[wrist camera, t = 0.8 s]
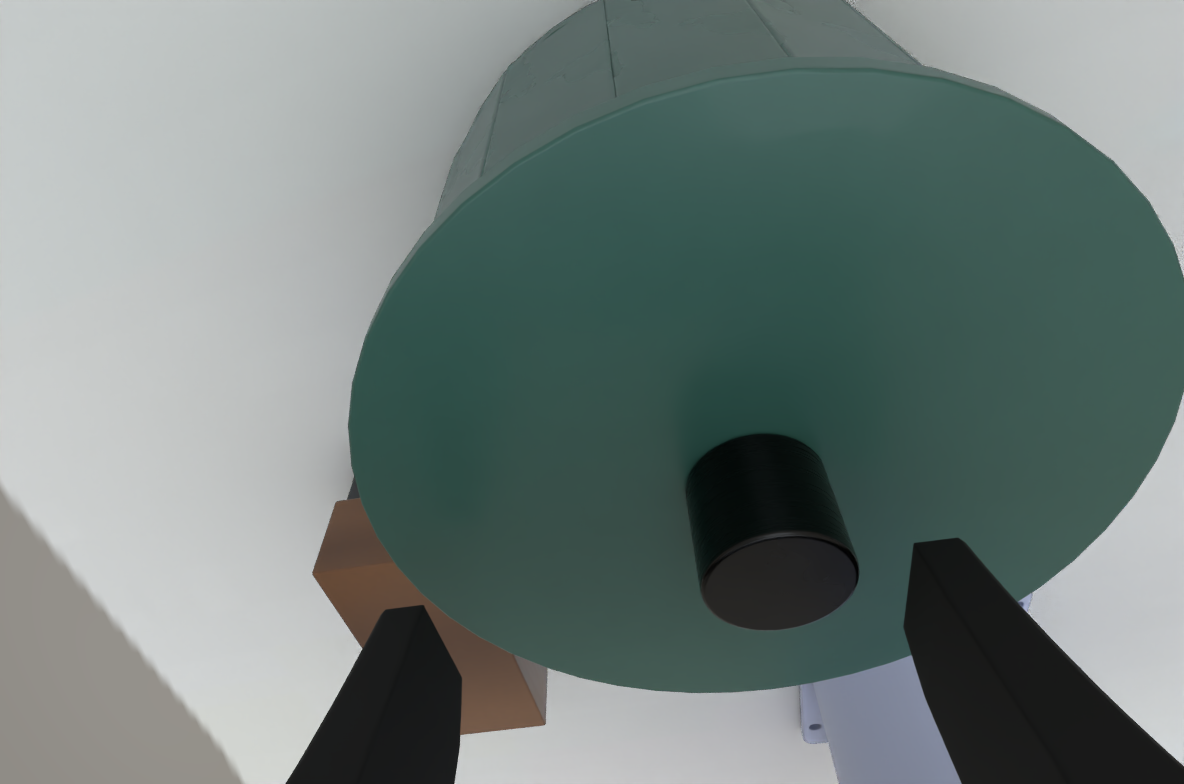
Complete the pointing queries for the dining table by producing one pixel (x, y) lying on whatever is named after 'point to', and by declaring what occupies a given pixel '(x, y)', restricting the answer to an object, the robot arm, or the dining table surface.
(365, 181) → the dining table surface
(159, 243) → the dining table surface
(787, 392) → the pot lid
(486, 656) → the brown rectangular block
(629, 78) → the pot
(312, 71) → the dining table surface
